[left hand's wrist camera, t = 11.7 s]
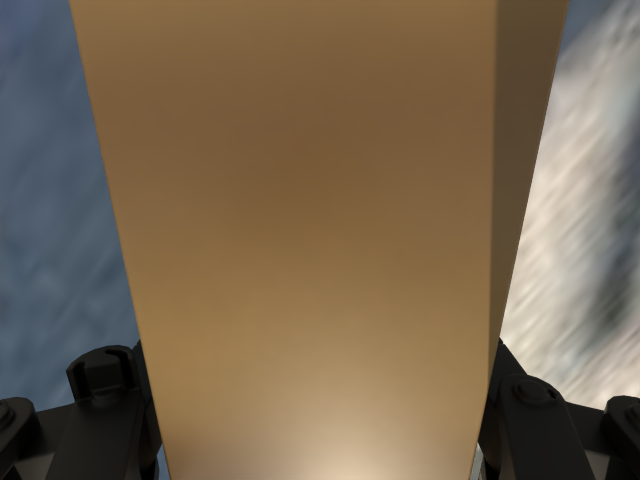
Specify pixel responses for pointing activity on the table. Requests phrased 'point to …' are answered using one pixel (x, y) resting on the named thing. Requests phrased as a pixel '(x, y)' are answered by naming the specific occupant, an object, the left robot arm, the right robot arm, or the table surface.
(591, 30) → the table surface
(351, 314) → the beam
